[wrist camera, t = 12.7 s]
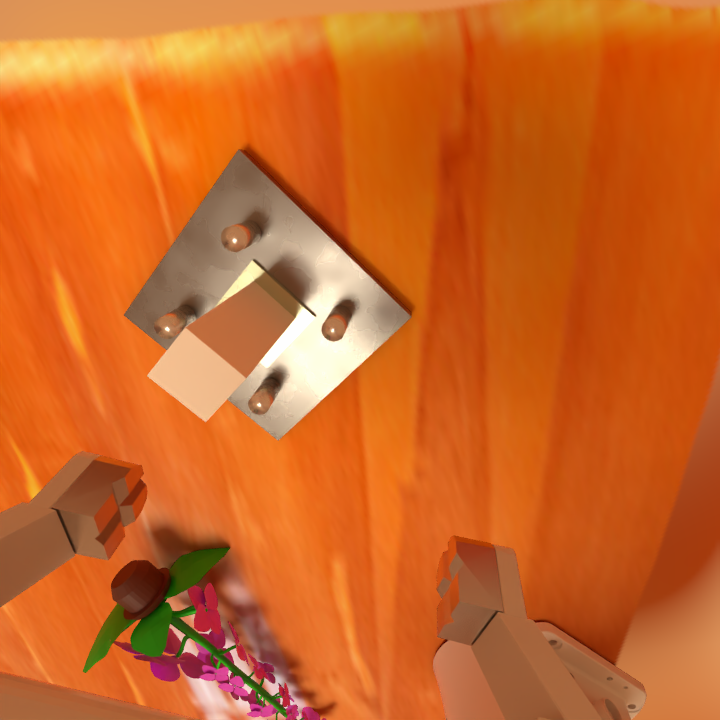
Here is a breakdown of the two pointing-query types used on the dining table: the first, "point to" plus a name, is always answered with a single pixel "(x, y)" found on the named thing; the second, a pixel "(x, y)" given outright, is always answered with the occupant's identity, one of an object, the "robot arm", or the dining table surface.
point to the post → (221, 349)
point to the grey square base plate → (271, 292)
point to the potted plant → (185, 631)
